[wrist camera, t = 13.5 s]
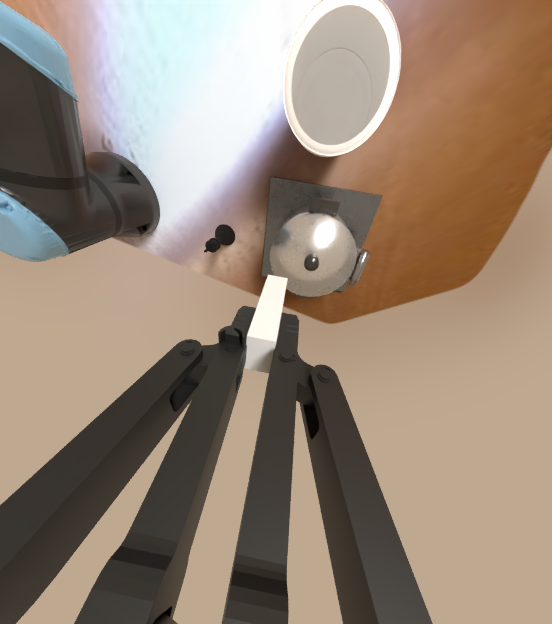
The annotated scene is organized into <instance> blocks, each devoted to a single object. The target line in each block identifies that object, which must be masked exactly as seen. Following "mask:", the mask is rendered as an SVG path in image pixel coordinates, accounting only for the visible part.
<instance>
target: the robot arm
mask: <svg viewBox="0 0 552 624" xmlns="http://www.w3.org/2000/svg"><path fill="white" fill-rule="evenodd" d="M77 102H79V100H78V97H77V95H76V94H75V90H74V85H73V81H72V76H71V71H70V65H69V61H68V59H67V56H66V54H65V52H64V51H63V49H62V48H61V46H60V45H59V44H58V42H57V41H56V40H55V39H54V38H53V37H52V36H51V35H50V34H49V33H48V32H46V31H45V30H44V29H42V28H41V27H39V26H38V25H36V24H35V23H33V22H32V21H30V20H29V19H27V18H25V17H24V16H22V15H21V14H19V13H18V12H16V11H15V10H13V9H11V8H10V7H8V6H7V5H5V4H4V3H2V2H0V251H2V252H4V253H6V254H8V255H11V256H13V257H16V258H19V259H22V260H26V261H34V262H41V261H46V260H49V259H53V258H56V257H59V256H66V255H68V254H70V253H73V252H75V251H78V250H80V249H83V248H85V247H88V246H90V245H93V244H95V243H98V242H100V241H103V240H105V239H108V238H110V237H113V236H125V237H138V236H142V235H145V234H147V233H149V232H151V231H153V230H154V229H155V227H156V226H157V224H158V221H159V216H160V209H159V203H158V199H157V196H156V194H155V191H154V189H153V187H152V185H151V184H150V182H149V181H148V179H147V178H146V176H145V175H144V174H143V173H142V172H141V170H140V169H139V168H138V167H137V166H135V165H134V164H133V163H132V162H130V161H129V160H128V159H126V158H124V157H122V156H120V155H118V154H115V153H110V152H94V153H90V154H88V155H86V156H85V152H84V145H83V139H82V132H81V125H80V119H79V112H78V106H77ZM287 280H288V278H283V277H278V276H273V275H268V277H267V280H266V282H265V285H264V288H263V291H262V294H261V297H260V300H259V302H258V305H257V308H253V307H248V306H243V307H241V308H240V309H239V310H238V312H237V314H236V316H235V318H234V321H233V323H232V325H231V326H227V327H224V328H222V329H221V330H220V331H219V334H218V335H219V343H217V344H214V345H204V346H201V344H200V342H198V341H197V340H192V339H190V340H184V341H181V342H180V343H178V344H177V345H176V346H174V347H173V348H172V349H171V350H170V351H169V352H168V353H167V354H166V355H165V356H164V357H163V358H161V359H160V360H159V361H158V362H157V363H156V364H155V365H154V366H153V367H151V368H150V369H149V370H148V371H147V372H146V373H145V374H144V375H143V376H142V377H140V379H138V380H137V381H136V382H135V383H134V384H133V385H132V386H131V387H130V388H128V389H127V390H126V391H125V392H124V393H123V394H122V395H121V396H120V397H119V398H117V399H116V400H115V401H114V402H113V403H112V404H111V405H110V406H109V407H108V408H107V409H106V410H104V411H103V412H102V413H101V414H100V415H99V416H98V417H97V418H96V419H94V420H93V421H92V422H91V423H90V424H89V425H88V426H87V427H86V428H85V429H84V430H82V431H81V432H80V433H79V434H78V435H77V436H76V437H75V438H74V439H73V440H71V442H69V443H68V444H67V445H66V446H65V447H64V448H63V449H62V450H60V451H59V452H58V453H57V454H56V455H55V456H54V457H53V458H52V459H51V460H50V461H48V462H47V463H46V464H45V465H44V466H43V467H42V468H41V469H40V470H39V471H37V473H35V474H34V475H33V476H32V477H31V478H30V479H29V480H28V481H27V482H25V483H24V484H23V485H22V486H21V487H20V488H19V489H18V490H17V491H16V492H14V494H12V495H11V496H10V497H9V498H8V499H7V500H6V501H5V502H3V503H2V504H1V505H0V624H16V623H17V622H18V620H19V619H20V618H21V617H22V616H23V615H24V614H25V613H26V612H27V610H28V609H29V608H30V607H31V606H32V605H33V604H34V603H35V601H36V600H37V599H38V598H39V596H40V595H41V594H42V593H43V592H44V590H45V589H46V588H47V587H48V585H49V584H50V583H51V582H52V581H53V579H54V578H55V577H56V576H57V574H58V573H59V572H60V570H61V569H62V568H63V567H64V565H65V564H66V563H67V561H68V560H69V559H70V557H71V556H72V555H73V553H74V552H75V551H76V550H77V548H78V547H79V546H80V544H81V543H82V542H83V540H84V539H85V538H86V537H87V535H88V534H89V533H90V531H91V530H92V529H93V528H94V526H95V525H96V524H97V522H98V521H99V520H100V518H101V517H102V516H103V515H104V513H105V512H106V511H107V509H108V508H109V506H110V505H111V504H112V503H113V501H114V500H115V499H116V498H117V496H118V495H119V494H120V492H121V491H122V490H123V489H124V487H125V486H126V485H127V483H128V482H129V481H130V479H131V478H132V476H134V474H135V473H136V471H137V470H138V469H139V468H140V466H141V465H142V464H143V463H144V461H145V460H146V459H147V457H148V456H149V455H150V453H151V452H152V451H153V449H154V448H155V447H156V445H157V444H158V443H159V442H160V440H161V439H162V438H163V436H164V435H165V434H166V433H167V431H168V430H169V429H170V427H171V426H172V425H173V423H174V422H175V421H176V420H177V418H178V417H179V416H180V414H181V413H182V412H183V410H184V409H185V408H186V407H187V405H188V404H189V403H190V401H191V400H192V401H191V403H190V405H189V407H188V409H187V411H186V414H185V416H184V418H183V420H182V422H181V424H180V426H179V428H178V430H177V432H176V434H175V436H174V438H173V441H172V443H171V445H170V447H169V449H168V451H167V453H166V455H165V457H164V460H163V461H162V463H161V466H160V468H159V470H158V472H157V474H156V476H155V478H154V480H153V482H152V485H151V487H150V488H149V491H148V493H147V495H146V497H145V499H144V501H143V503H142V505H141V507H140V510H139V511H138V514H137V516H136V518H135V520H134V522H133V524H132V526H131V528H130V530H129V533H128V534H127V536H126V538H125V540H124V541H123V543H122V544H121V546H120V547H119V548H118V549H117V551H116V552H115V553H114V554H113V555H112V556H111V558H110V559H109V560H108V562H107V563H106V565H105V567H104V568H103V570H102V571H101V573H100V575H99V576H98V578H97V580H96V582H95V584H94V586H93V588H92V589H91V592H90V593H89V595H88V598H87V600H86V601H85V603H84V605H83V607H82V609H81V611H80V613H79V615H78V617H77V619H76V621H75V623H74V624H177V623H176V622H175V621H174V620H173V619H172V618H173V614H174V611H175V608H176V604H177V600H178V597H179V594H180V591H181V587H182V584H183V580H184V577H185V573H186V569H187V564H188V558H189V554H190V550H191V546H192V543H193V540H194V536H195V533H196V529H197V526H198V523H199V520H200V516H201V513H202V510H203V506H204V503H205V500H206V496H207V493H208V490H209V486H210V483H211V480H212V476H213V473H214V470H215V466H216V463H217V460H218V456H219V453H220V450H221V446H222V443H223V440H224V436H225V433H226V430H227V427H228V423H229V420H230V417H231V413H232V410H233V406H234V403H235V400H236V397H237V393H238V390H239V387H240V383H241V380H242V374H243V369H244V366H245V369H250V370H256V371H260V372H265V373H269V378H268V382H267V387H266V393H265V398H264V403H263V409H262V414H261V420H260V425H259V430H258V435H257V441H256V446H255V451H254V456H253V462H252V467H251V473H250V478H249V483H248V488H247V493H246V500H245V504H244V510H243V515H242V520H241V526H240V531H239V537H238V542H237V546H236V552H235V557H234V562H233V567H232V572H231V578H230V583H229V588H228V594H227V599H226V604H225V609H224V615H223V621H222V624H288V593H287V592H288V591H287V575H286V574H287V553H288V536H289V517H290V501H291V482H292V464H293V447H294V429H295V412H296V401H298V402H300V407H301V412H302V417H303V422H304V427H305V432H306V437H307V442H308V447H309V452H310V457H311V463H312V468H313V473H314V478H315V483H316V488H317V493H318V498H319V503H320V508H321V513H322V519H323V524H324V529H325V534H326V539H327V543H328V549H329V554H330V559H331V564H332V569H333V574H334V579H335V585H336V589H337V595H338V600H339V605H340V610H341V615H342V620H343V624H432V621H431V619H430V616H429V614H428V611H427V608H426V606H425V603H424V600H423V598H422V595H421V592H420V590H419V587H418V585H417V582H416V580H415V577H414V574H413V572H412V569H411V566H410V564H409V561H408V559H407V556H406V554H405V551H404V548H403V546H402V543H401V540H400V538H399V535H398V533H397V530H396V527H395V525H394V522H393V520H392V517H391V514H390V512H389V509H388V507H387V504H386V501H385V499H384V496H383V494H382V491H381V489H380V486H379V483H378V481H377V478H376V475H375V473H374V470H373V468H372V465H371V462H370V460H369V457H368V455H367V452H366V449H365V447H364V444H363V442H362V439H361V436H360V434H359V431H358V428H357V426H356V423H355V421H354V418H353V415H352V413H351V410H350V408H349V405H348V402H347V400H346V397H345V395H344V392H343V389H342V387H341V385H340V382H339V379H338V376H337V374H336V373H335V371H334V370H333V369H331V368H330V367H328V366H326V365H316V366H315V367H313V366H311V365H309V364H307V363H305V362H304V361H303V360H302V359H301V358H300V357H299V355H298V352H297V347H298V331H299V320H298V318H297V316H296V315H292V314H286V313H282V308H283V302H284V296H285V291H286V285H287Z"/></svg>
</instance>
